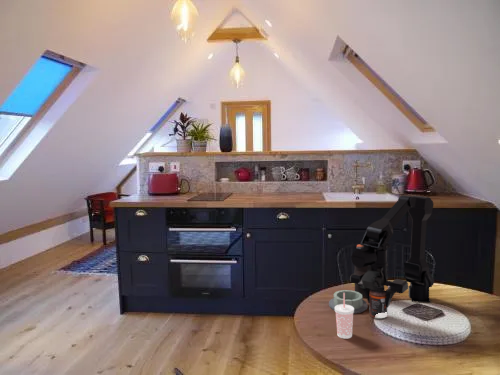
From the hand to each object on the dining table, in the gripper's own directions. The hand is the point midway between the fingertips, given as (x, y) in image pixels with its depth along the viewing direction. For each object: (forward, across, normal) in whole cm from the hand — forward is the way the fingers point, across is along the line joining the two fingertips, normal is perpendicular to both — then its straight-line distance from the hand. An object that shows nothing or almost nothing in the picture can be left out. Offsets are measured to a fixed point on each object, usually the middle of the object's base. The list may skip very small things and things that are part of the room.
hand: (378, 305), depth 138 cm
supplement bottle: (+4, 0, 0) cm, 4 cm away
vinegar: (+4, -13, +15) cm, 20 cm away
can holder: (+4, -13, +2) cm, 13 cm away
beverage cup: (+4, -3, -19) cm, 20 cm away
